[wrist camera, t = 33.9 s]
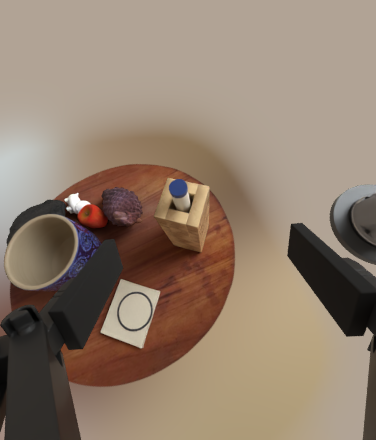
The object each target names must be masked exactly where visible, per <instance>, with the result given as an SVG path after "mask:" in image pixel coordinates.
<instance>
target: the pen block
mask: <svg viewBox="0 0 376 440" xmlns="http://www.w3.org/2000/svg"><path fill="white" fill-rule="evenodd" d="M174 180H175V179H170V178H168V179H167V182H166V184H165V187H164V190H163V193H162V195H161V198H160V201H159V203H158V206H157V209H156V212H155V214H154V218H155V219H156V220H157V222H158V223H159V225H160V226H161V228H162V229H163V230H164V232H165V233H166V235H167V236H168V238H169V239H170V241H171V242H172V243H173V245H175V246H179V247H182V248H186V249H190V250H193V251H197V252H202V249H203V245H204V241H205V238H206V234H207V230H208V227H209V186H204V185H199V184H194V183H190V182H186V183H187V187H188V194H189V199H190V204H191V209H190V213H185V212H181V211H177V209H176V207H175V204H174V201H173V199H172V196H171V194H170V191H169V185H170V183H171V182H172V181H174Z"/></svg>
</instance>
